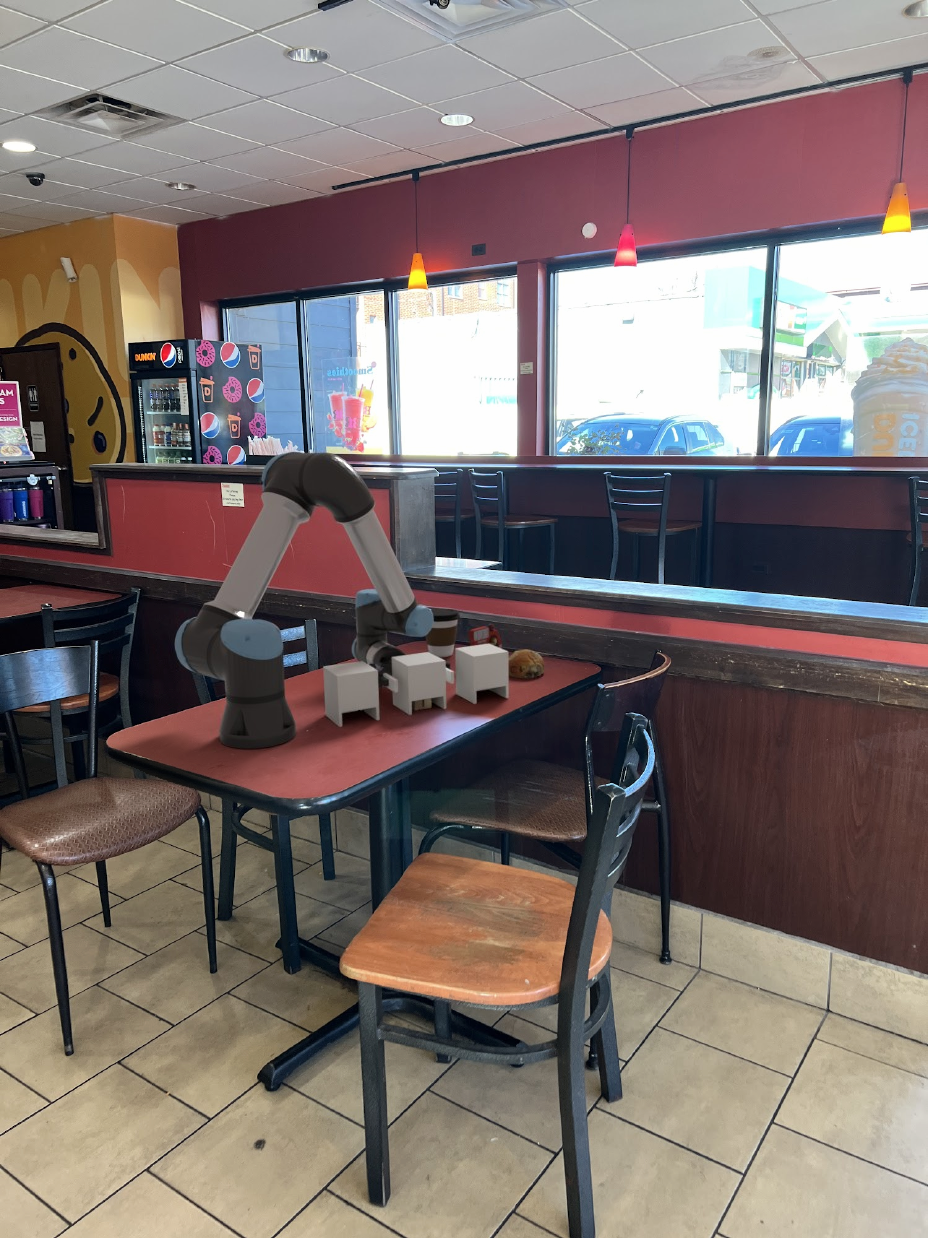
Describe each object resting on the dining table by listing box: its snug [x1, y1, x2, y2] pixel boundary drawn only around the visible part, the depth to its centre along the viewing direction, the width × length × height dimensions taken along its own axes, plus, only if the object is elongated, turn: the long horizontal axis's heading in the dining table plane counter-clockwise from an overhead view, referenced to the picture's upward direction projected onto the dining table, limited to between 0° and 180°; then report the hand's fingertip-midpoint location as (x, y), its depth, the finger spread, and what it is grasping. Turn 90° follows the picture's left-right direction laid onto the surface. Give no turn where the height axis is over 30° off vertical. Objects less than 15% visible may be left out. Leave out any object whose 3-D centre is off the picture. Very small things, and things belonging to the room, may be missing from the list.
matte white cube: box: [322, 661, 380, 728], centre depth 191 cm, size 9×9×11 cm
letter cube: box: [412, 698, 432, 711], centre depth 199 cm, size 4×4×4 cm
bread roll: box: [508, 649, 546, 679], centre depth 225 cm, size 10×10×8 cm
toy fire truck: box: [468, 623, 505, 650], centre depth 234 cm, size 7×12×10 cm, turn 140°
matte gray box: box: [454, 644, 510, 705], centre depth 205 cm, size 9×9×11 cm
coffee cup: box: [424, 608, 461, 658], centre depth 244 cm, size 11×11×12 cm
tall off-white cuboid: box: [392, 651, 447, 716], centre depth 198 cm, size 9×9×11 cm
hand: (425, 682), depth 195 cm, fingers open, 13 cm apart
